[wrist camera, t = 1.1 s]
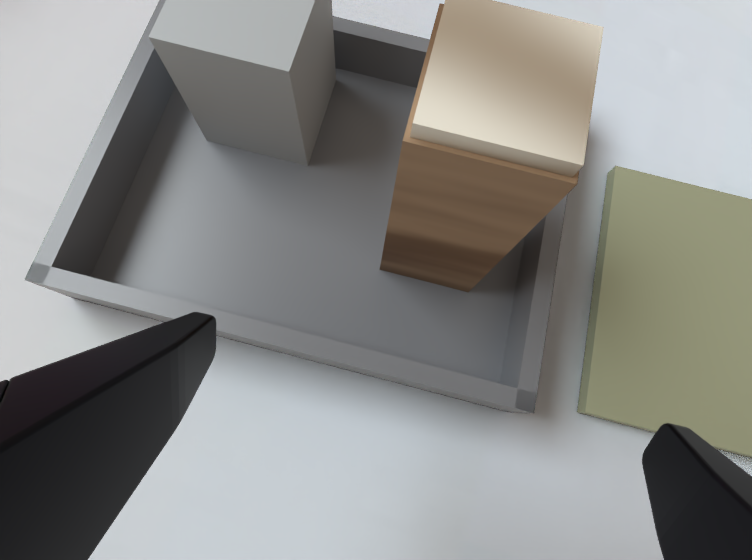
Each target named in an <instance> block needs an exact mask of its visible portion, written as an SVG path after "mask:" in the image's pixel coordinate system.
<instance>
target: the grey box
mask: <svg viewBox="0 0 752 560" xmlns="http://www.w3.org/2000/svg"><path fill="white" fill-rule="evenodd" d="M149 39H150V41H151V42H152V44H153V46H154V48H155V50H156V51H157V53H158V55H159V57H160V58H161V60H162V62H163V64H164V66H165V67H166V69H167V71H168V73H169V74H170V76H171V78H172V80H173V82H174V83H175V85H176V87H177V89H178V90H179V92H180V94H181V96H182V98H183V99H184V101H185V103H186V105H187V106H188V108H189V110H190V112H191V114H192V115H193V117H194V119H195V121H196V122H197V124H198V126H199V128H200V130H201V131H202V133H203V135H204V137H205V138H206V140H207V141H211V142H215V143H219V144H223V145H227V146H231V147H234V148H238V149H242V150H246V151H250V152H254V153H258V154H262V155H266V156H270V157H274V158H278V159H282V160H286V161H290V162H294V163H298V164H302V165H306V166H308V164H309V161H310V158H311V155H312V152H313V149H314V146H315V143H316V140H317V137H318V133H319V130H320V127H321V124H322V121H323V118H324V115H325V112H326V109H327V106H328V103H329V100H330V97H331V94H332V91H333V88H334V85H335V82H336V69H335V52H334V35H333V18H332V1H331V0H166V1H165V3H164V5H163V8H162V10H161V12H160V14H159V16H158V18H157V20H156V22H155V24H154V26H153V28H152V31H151V33H150V35H149Z"/></svg>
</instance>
